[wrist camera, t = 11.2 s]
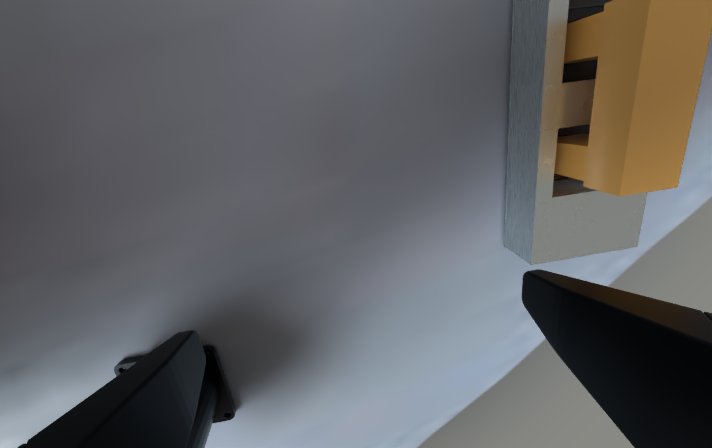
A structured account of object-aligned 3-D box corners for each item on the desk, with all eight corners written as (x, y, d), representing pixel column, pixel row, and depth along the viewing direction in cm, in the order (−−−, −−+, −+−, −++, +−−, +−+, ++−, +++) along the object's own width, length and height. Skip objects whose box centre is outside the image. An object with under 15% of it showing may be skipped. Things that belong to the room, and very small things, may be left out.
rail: (597, 230, 23) (637, 246, 20) (504, 245, 23) (531, 264, 20) (642, -90, 17) (707, -129, 14) (515, -78, 17) (557, -117, 14)
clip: (578, 166, 21) (677, 187, 16) (535, 173, 21) (619, 196, 15) (594, 19, 19) (723, -23, 13) (544, 25, 18) (652, -15, 12)
